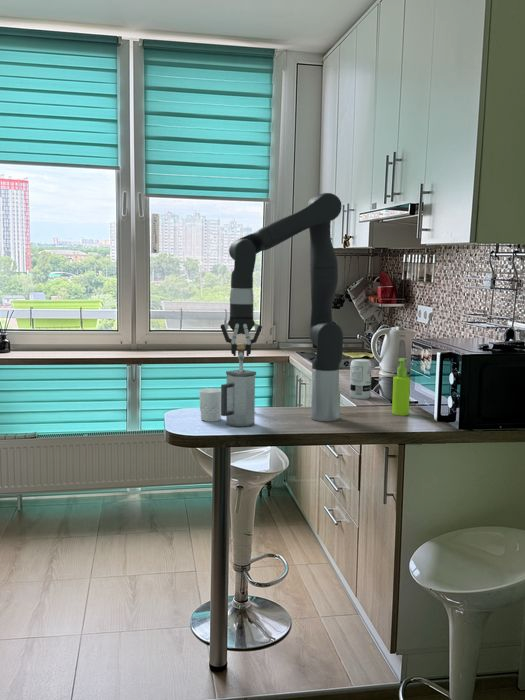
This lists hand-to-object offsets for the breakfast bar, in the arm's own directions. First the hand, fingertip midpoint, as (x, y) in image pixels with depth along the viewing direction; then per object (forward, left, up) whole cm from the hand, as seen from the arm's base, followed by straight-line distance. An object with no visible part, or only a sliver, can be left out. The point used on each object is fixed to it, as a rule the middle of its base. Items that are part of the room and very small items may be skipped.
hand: (241, 355), depth 216 cm
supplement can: (-67, -2, -23) cm, 70 cm away
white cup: (+3, -12, -23) cm, 26 cm away
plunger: (0, 0, -16) cm, 16 cm away
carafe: (+1, 0, -23) cm, 23 cm away
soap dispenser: (-53, +26, -23) cm, 63 cm away
